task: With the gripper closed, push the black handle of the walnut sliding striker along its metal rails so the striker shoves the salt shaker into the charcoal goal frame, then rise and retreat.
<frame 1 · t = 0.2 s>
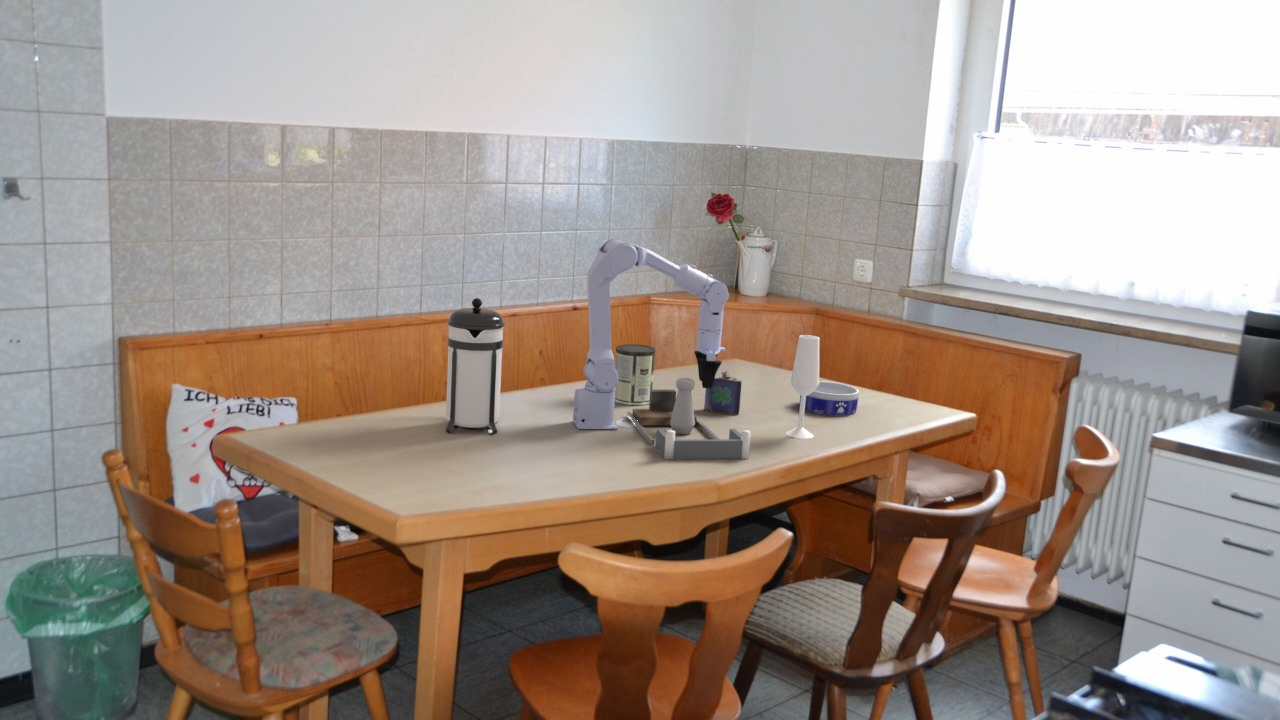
hand: (705, 384, 266), 10 cm above the table, fingers open, 7 cm apart
dog bowl: (827, 410, 293), on the table
salt shaker: (681, 433, 259), on the table
flask: (721, 412, 281), on the table
goal frame: (699, 450, 246), on the table
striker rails: (671, 430, 261), on the table
champagne flute: (799, 435, 265), on the table
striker: (664, 407, 267), point 4 cm above the table, slide at 0.0 cm
coffee press: (470, 427, 252), on the table
coffee can: (632, 401, 287), on the table
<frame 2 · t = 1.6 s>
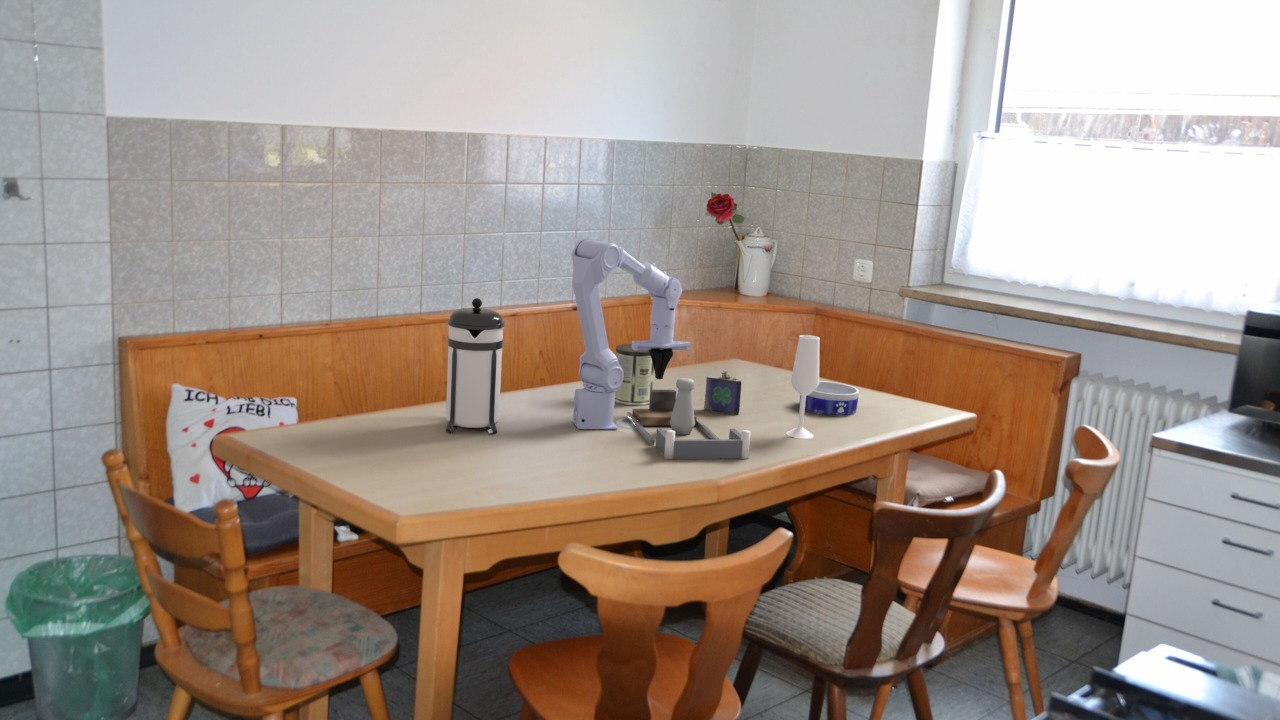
hand: (658, 378, 273), 9 cm above the table, fingers closed
nothing on the table moved.
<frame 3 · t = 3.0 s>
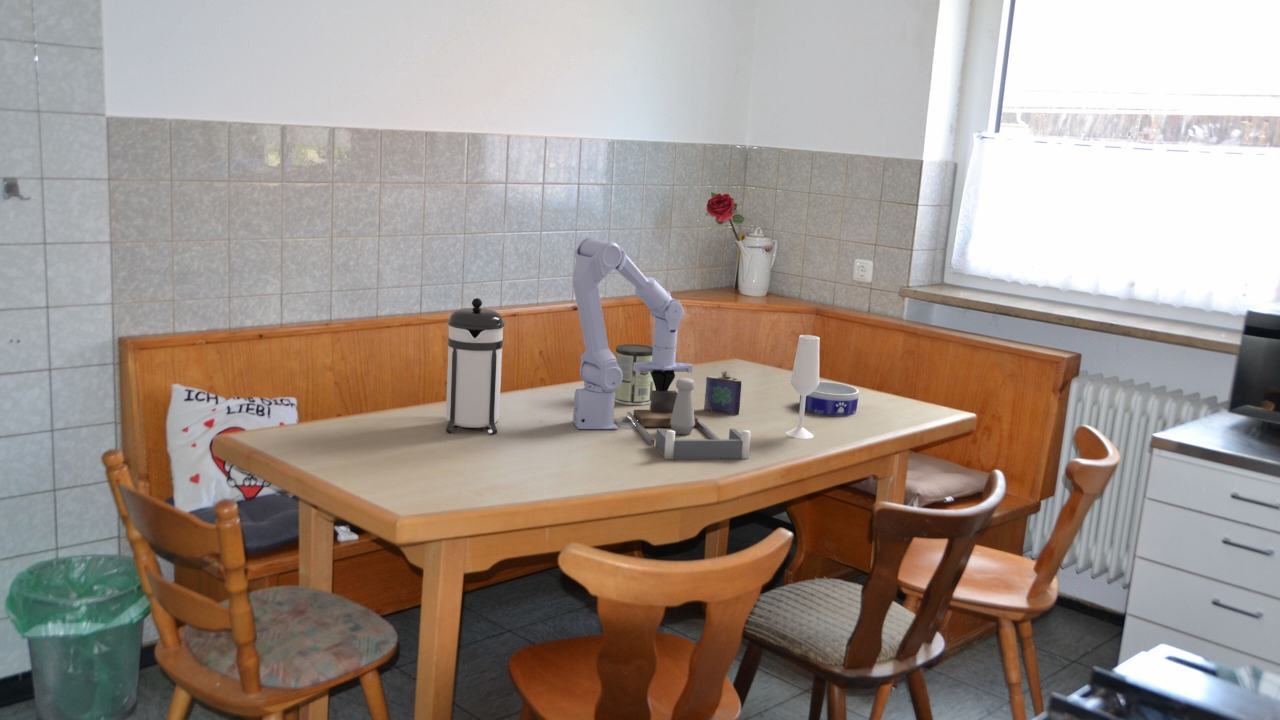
hand: (660, 400, 271), 4 cm above the table, fingers closed, pressing on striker
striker: (666, 408, 266), point 4 cm above the table, slide at 1.0 cm, touching gripper
everything else where it was.
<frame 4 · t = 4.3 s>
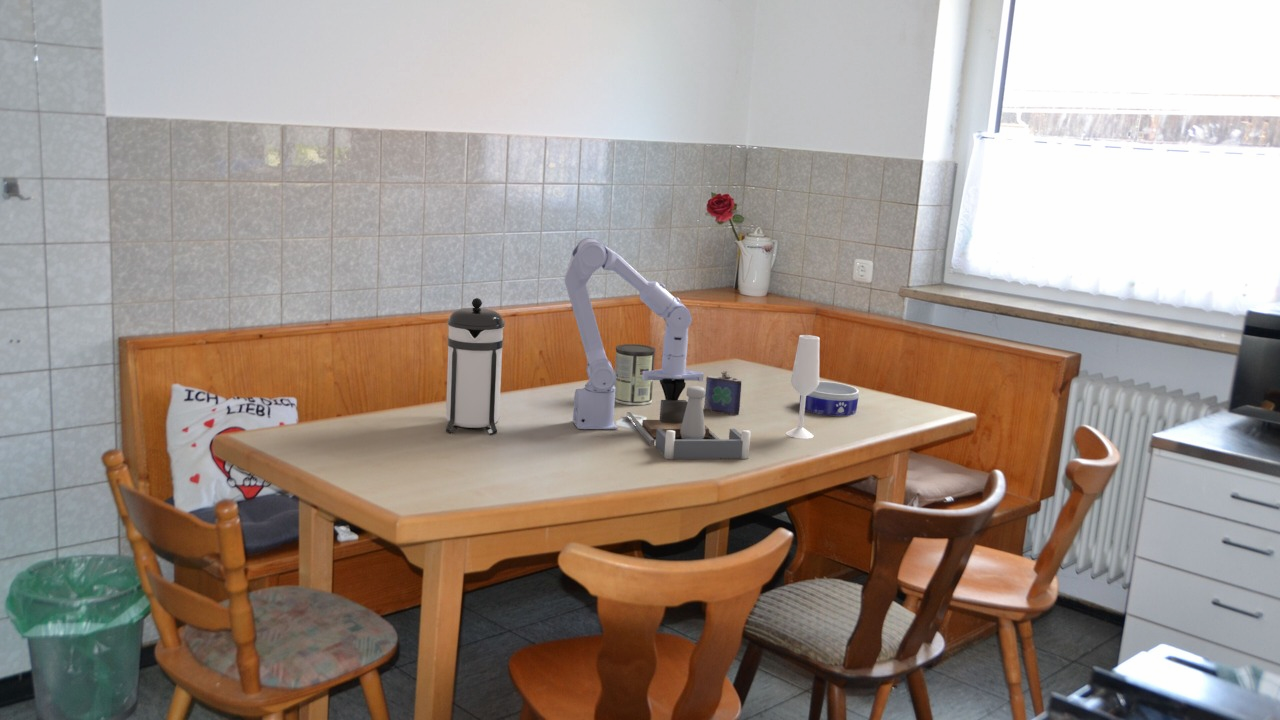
hand: (670, 409, 262), 4 cm above the table, fingers closed, pressing on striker
salt shaker: (691, 442, 252), on the table, touching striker
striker: (676, 418, 257), point 4 cm above the table, slide at 10.2 cm, touching gripper, salt shaker
everything else where it was.
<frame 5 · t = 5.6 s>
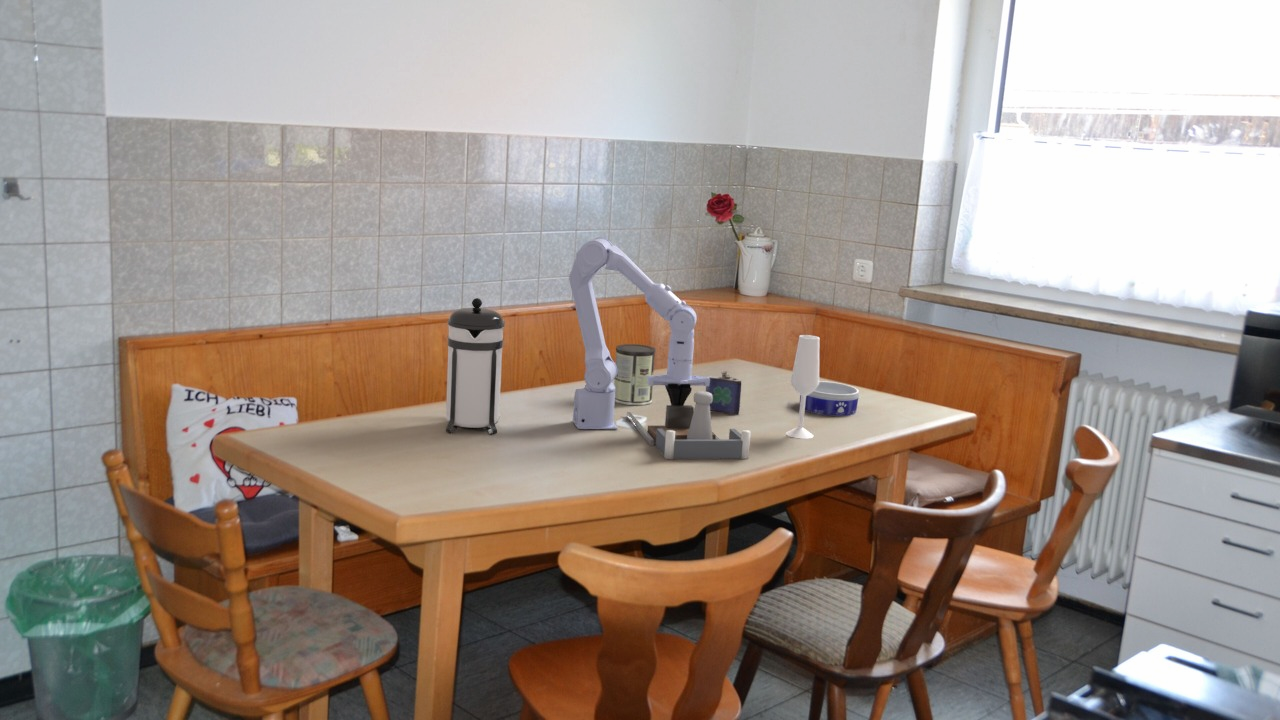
hand: (676, 415, 257), 4 cm above the table, fingers closed, pressing on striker
salt shaker: (698, 449, 247), on the table, touching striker
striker: (681, 423, 252), point 4 cm above the table, slide at 15.2 cm, touching gripper, salt shaker
everything else where it was.
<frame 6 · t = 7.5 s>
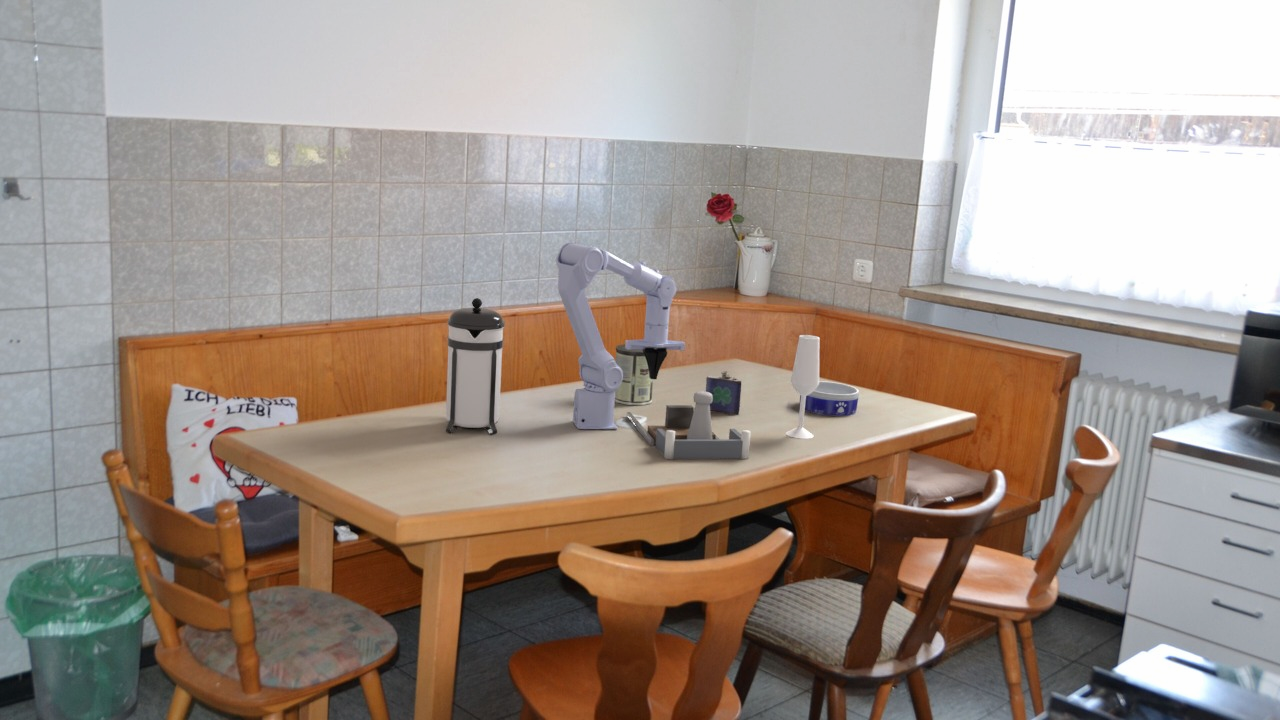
hand: (653, 378, 269), 10 cm above the table, fingers closed
salt shaker: (698, 449, 247), on the table
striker: (681, 423, 252), point 4 cm above the table, slide at 15.2 cm
everything else where it was.
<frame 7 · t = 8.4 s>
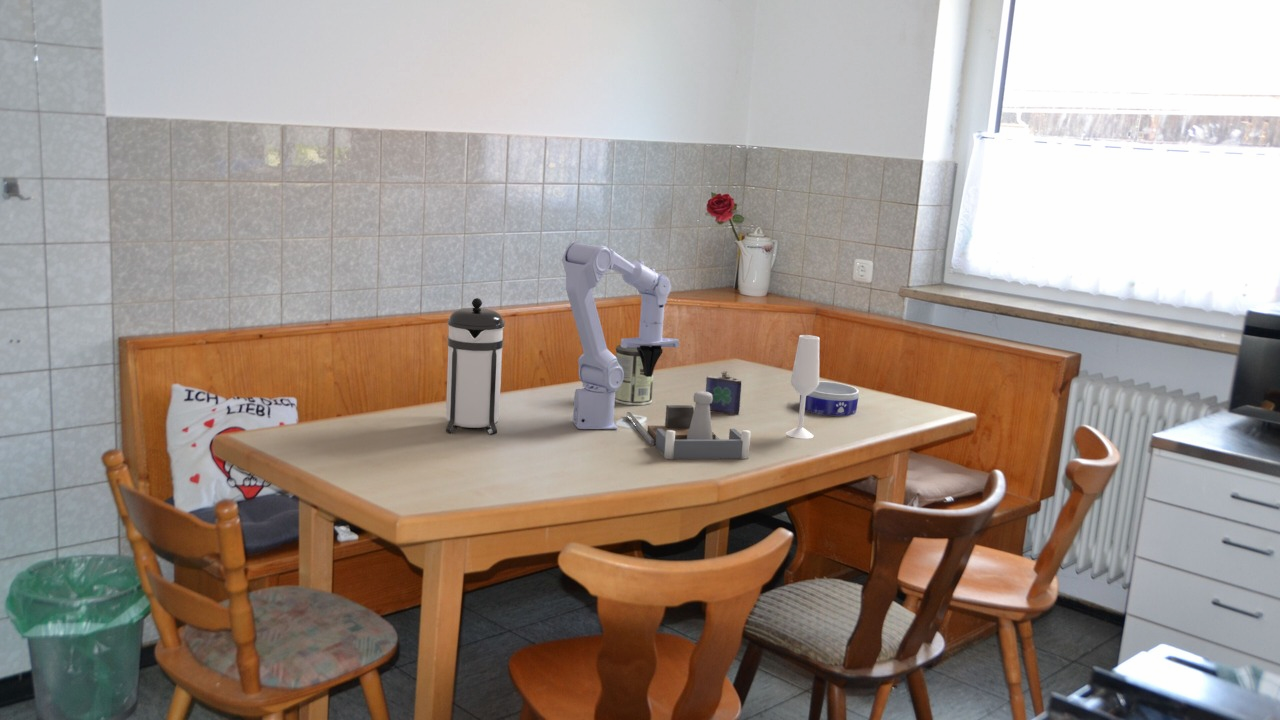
hand: (647, 375, 271), 10 cm above the table, fingers closed
nothing on the table moved.
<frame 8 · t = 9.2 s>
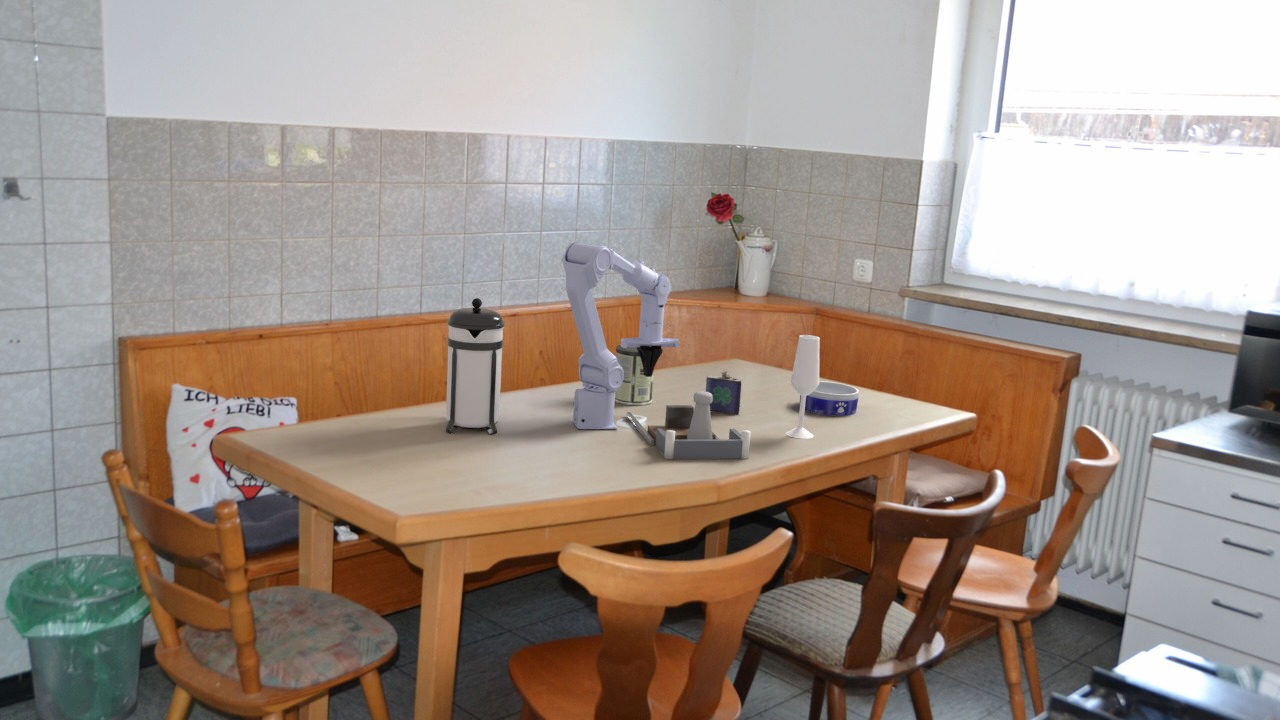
hand: (647, 375, 271), 10 cm above the table, fingers closed
nothing on the table moved.
at the end: salt shaker inside the target area on the goal frame (2.4 cm from its centre), point 0.0 cm above the goal frame's base; salt shaker tilted 0°; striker slide at 15.2 cm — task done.
